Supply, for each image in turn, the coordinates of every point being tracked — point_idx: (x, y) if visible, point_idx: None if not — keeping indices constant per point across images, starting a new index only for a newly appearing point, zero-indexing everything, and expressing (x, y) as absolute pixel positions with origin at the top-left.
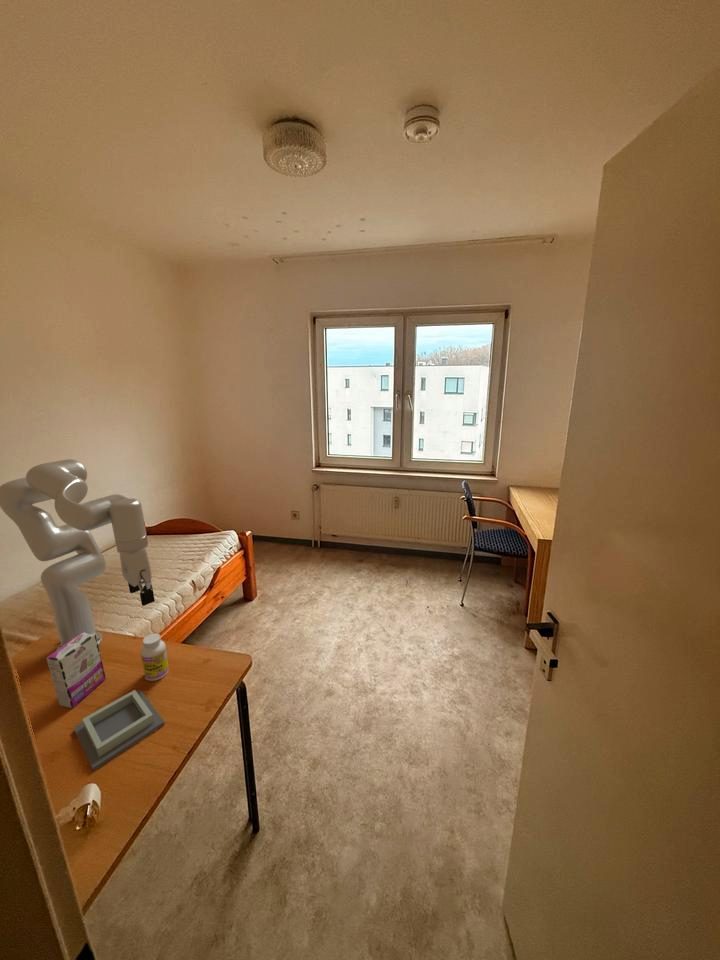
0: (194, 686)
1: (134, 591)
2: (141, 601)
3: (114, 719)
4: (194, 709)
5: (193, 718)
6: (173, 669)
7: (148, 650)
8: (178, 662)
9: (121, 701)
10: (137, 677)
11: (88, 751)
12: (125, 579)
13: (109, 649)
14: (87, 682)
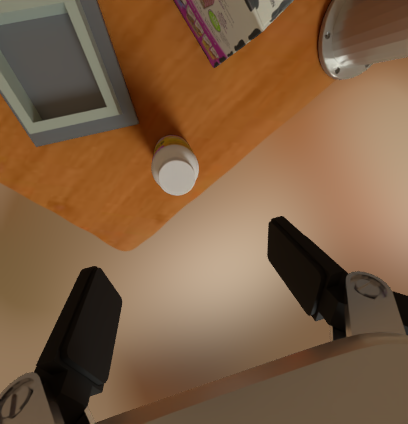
0: (112, 196)
1: (270, 235)
2: (78, 289)
3: (75, 64)
4: (59, 189)
5: (39, 184)
6: None
7: (161, 162)
8: None
9: (98, 84)
10: (182, 123)
11: None
12: (310, 366)
13: (294, 87)
14: (193, 17)
